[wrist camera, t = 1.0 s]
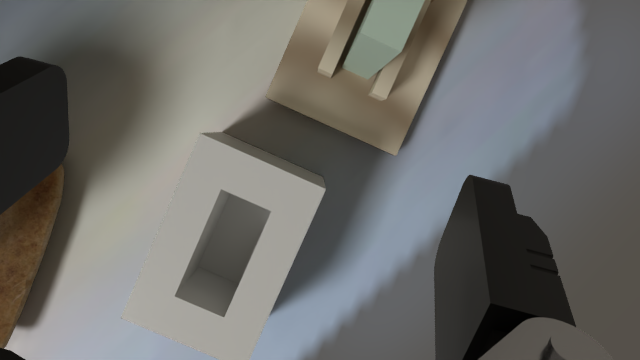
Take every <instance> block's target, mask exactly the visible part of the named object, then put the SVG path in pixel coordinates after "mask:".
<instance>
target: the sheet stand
mask: <svg viewBox="0 0 640 360" xmlns="http://www.w3.org/2000/svg"><path fill="white" fill-rule="evenodd" d="M325 191H326V187H325V183H324V179H323V177H322V176H320V175H317V174H315V173H313V172H311V171H308V170H306V169H304V168H302V167H299V166H297V165H295V164H293V163H290V162H288V161H286V160H284V159H281V158H279V157H277V156H275V155H272V154H270V153H268V152H266V151H263V150H261V149H259V148H257V147H254V146H252V145H250V144H248V143H245V142H243V141H241V140H239V139H236V138H234V137H232V136H230V135H227V134H225V133H223V132H213V133H200V134H199V136H198V138H197V141H196V143H195V145H194V148H193V150H192V152H191V155H190V157H189V159H188V162H187V164H186V166H185V169H184V171H183V173H182V176H181V178H180V180H179V183H178V185H177V187H176V190H175V192H174V195H173V197H172V199H171V202H170V204H169V206H168V209H167V211H166V213H165V216H164V218H163V220H162V223H161V225H160V227H159V230H158V232H157V234H156V237H155V239H154V241H153V244H152V246H151V248H150V251H149V253H148V255H147V258H146V260H145V262H144V265H143V267H142V269H141V272H140V274H139V276H138V279H137V281H136V283H135V286H134V288H133V290H132V293H131V295H130V298H129V300H128V302H127V305H126V307H125V309H124V312H123V314H122V316H121V318H122V319H124V320H127V321H129V322H131V323H134V324H136V325H139V326H141V327H143V328H146V329H148V330H150V331H153V332H155V333H158V334H160V335H162V336H165V337H167V338H169V339H172V340H174V341H177V342H179V343H181V344H184V345H186V346H189V347H191V348H193V349H196V350H198V351H200V352H203V353H205V354H208V355H210V356H212V357H215V358H217V359H220V360H249V359H250V357H251V355H252V352H253V350H254V348H255V346H256V344H257V341H258V339H259V337H260V335H261V332H262V330H263V328H264V326H265V324H266V321H267V319H268V317H269V315H270V312H271V310H272V308H273V306H274V304H275V301H276V299H277V297H278V295H279V293H280V290H281V288H282V286H283V284H284V281H285V279H286V277H287V275H288V273H289V270H290V268H291V266H292V264H293V261H294V259H295V257H296V255H297V253H298V250H299V248H300V246H301V244H302V242H303V239H304V237H305V235H306V233H307V230H308V228H309V226H310V224H311V222H312V219H313V217H314V215H315V213H316V210H317V208H318V206H319V204H320V202H321V199H322V197H323V195H324V193H325Z"/></svg>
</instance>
